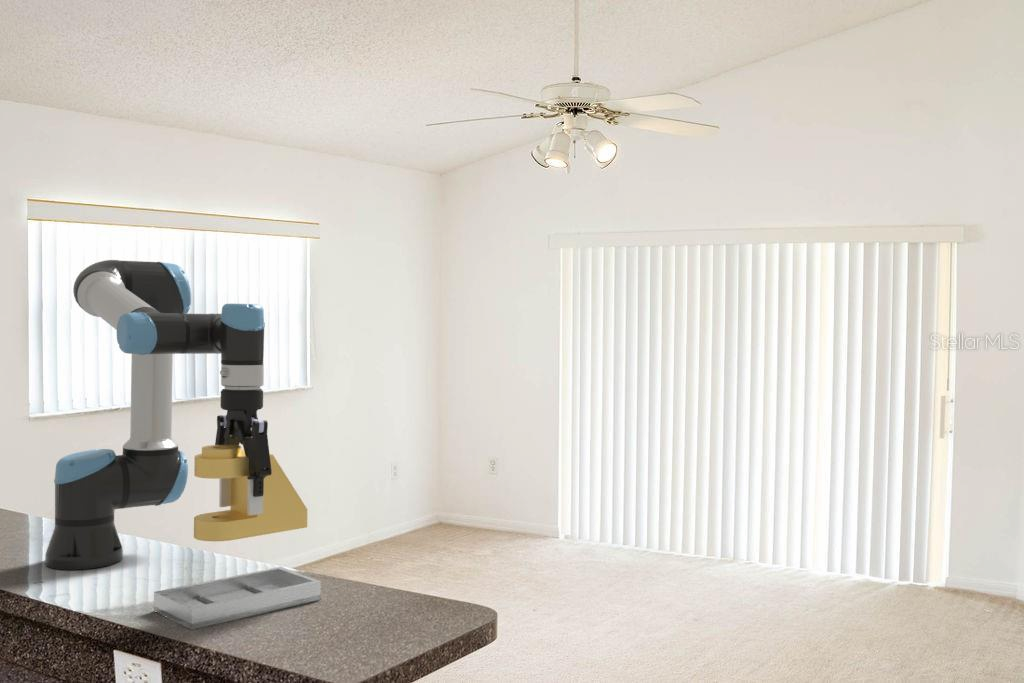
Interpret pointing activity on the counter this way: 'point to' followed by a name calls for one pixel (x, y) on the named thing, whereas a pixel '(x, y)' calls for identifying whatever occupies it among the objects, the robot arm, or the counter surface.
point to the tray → (236, 597)
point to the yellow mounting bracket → (246, 498)
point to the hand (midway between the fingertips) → (240, 510)
